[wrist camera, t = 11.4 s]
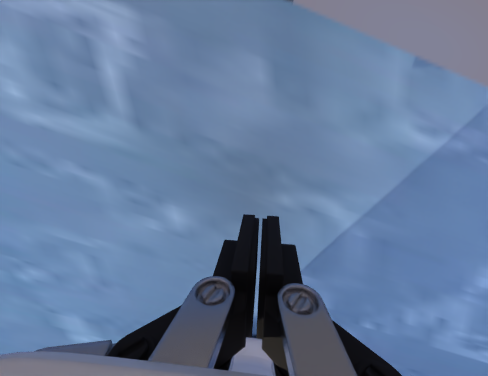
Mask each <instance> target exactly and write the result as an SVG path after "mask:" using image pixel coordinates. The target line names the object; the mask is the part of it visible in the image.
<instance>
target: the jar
mask: <svg viewBox="0 0 488 376" xmlns="http://www.w3.org/2000/svg"><path fill="white" fill-rule="evenodd" d="M231 371H235V372H243V373H251V374H259V375H267V376H273V374H272V360H271V359H270V358H269V356H268V355H267V354H266V353H265V352H264V351H263V350H262V339H257V338H248V337H246V345H245V347H244V348H243V349H242V350H240V351H239V352H238V353H237V354H235V355H234V363H233V367H232V370H231Z"/></svg>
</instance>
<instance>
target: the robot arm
mask: <svg viewBox="0 0 488 376" xmlns="http://www.w3.org/2000/svg"><path fill="white" fill-rule="evenodd" d="M258 230H259V218H255V215H246V214H244V215H243V219H242V223H241V228H240V232H239V237H238V241H235V240H225V241H224V243H223V246H222V250H221V253H220V256H219V259H218V262H217V265H216V268H215V271H214V274H213V276H211V277H207V278H204V279H202V280H200V281H199V282H197V283H196V284H195V286H194V287H193V288H192V290H191V291H190V293H189V295H188V296H187V298H186V299H185V301H184V303H183V304H182V305H181V306H179V307H178V308H176V309H174V310H172V311H170V312H169V313H167V314H165V315H163V316H161V317H159V318H158V319H156V320H154V321H152V322H150V323H148V324H147V325H145V326H143V327H141V328H139V329H138V330H136V331H134V332H132V333H130V334H128V335H127V336H125V337H124V338H122V339H121V340H119V341H118V342H117V343H115V344H112V341H111V340H106V341H98V342H89V343H81V344H72V345H63V346H55V347H47V348H43V349H39V350H36V351H34V352H16V353H9V354H2V355H0V376H267V375H259V374H251V373H243V372H235V371H231V370H232V367H233V363H234V355H235V354H237V353H238V352H239V351H240V350H242V349H243V348H244V347H245V345H246V337H248V338H252V327H253V313H254V299H255V285H256V271H257V251H258ZM256 338H257V339H262V350H263V351H264V352H265V353H266V354H267V355H268V356H269V358H270V359H271V360H272V374H273V376H402V375H401V374H400V373H399V372H398V371H397V370H396V369H394V368H393V367H392V366H391V365H390V364H389V363H387V362H386V361H385V360H383V359H382V358H381V357H379V356H378V355H377V354H376V353H374V352H373V351H372V350H370V349H369V348H368V347H366V346H365V345H364V344H363V343H361V342H360V341H359V340H357V339H356V338H355V337H353V336H352V335H351V334H350V333H348V332H347V331H346V330H344V329H343V328H342V327H340V326H339V325H338V324H336V323H335V322H334V321H333V320H331V317H330V315H329V313H328V311H327V309H326V307H325V304H324V302H323V300H322V298H321V297H320V295H319V294H318V293H317V292H316V291H315V290H314V289H312V288H310V287H309V286H307V285H303V282H302V277H301V272H300V267H299V262H298V257H297V251H296V247H295V245H289V244H281V236H280V225H279V217H277V216H267V219H263V221H262V240H261V258H260V277H259V297H258V317H257V337H256Z"/></svg>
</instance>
